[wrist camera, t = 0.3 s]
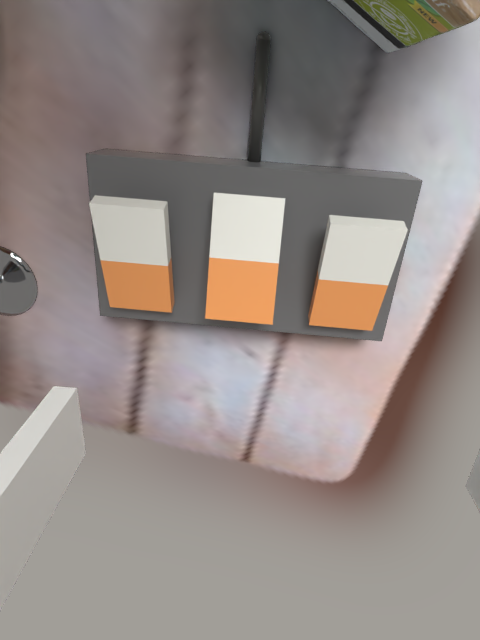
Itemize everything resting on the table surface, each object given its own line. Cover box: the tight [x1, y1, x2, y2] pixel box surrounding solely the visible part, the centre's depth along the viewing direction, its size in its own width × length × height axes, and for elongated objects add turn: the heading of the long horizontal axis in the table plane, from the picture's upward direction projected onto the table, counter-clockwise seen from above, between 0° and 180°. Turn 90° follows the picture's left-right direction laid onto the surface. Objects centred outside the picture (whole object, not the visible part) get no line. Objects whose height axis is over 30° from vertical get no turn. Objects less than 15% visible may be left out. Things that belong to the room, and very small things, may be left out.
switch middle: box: [205, 193, 285, 325], centre depth 31 cm, size 9×5×2 cm, turn 176°
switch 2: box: [308, 215, 408, 331], centre depth 31 cm, size 9×5×2 cm, turn 176°
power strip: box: [86, 32, 422, 341], centre depth 33 cm, size 22×24×4 cm
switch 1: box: [89, 195, 174, 313], centre depth 32 cm, size 9×5×2 cm, turn 176°
